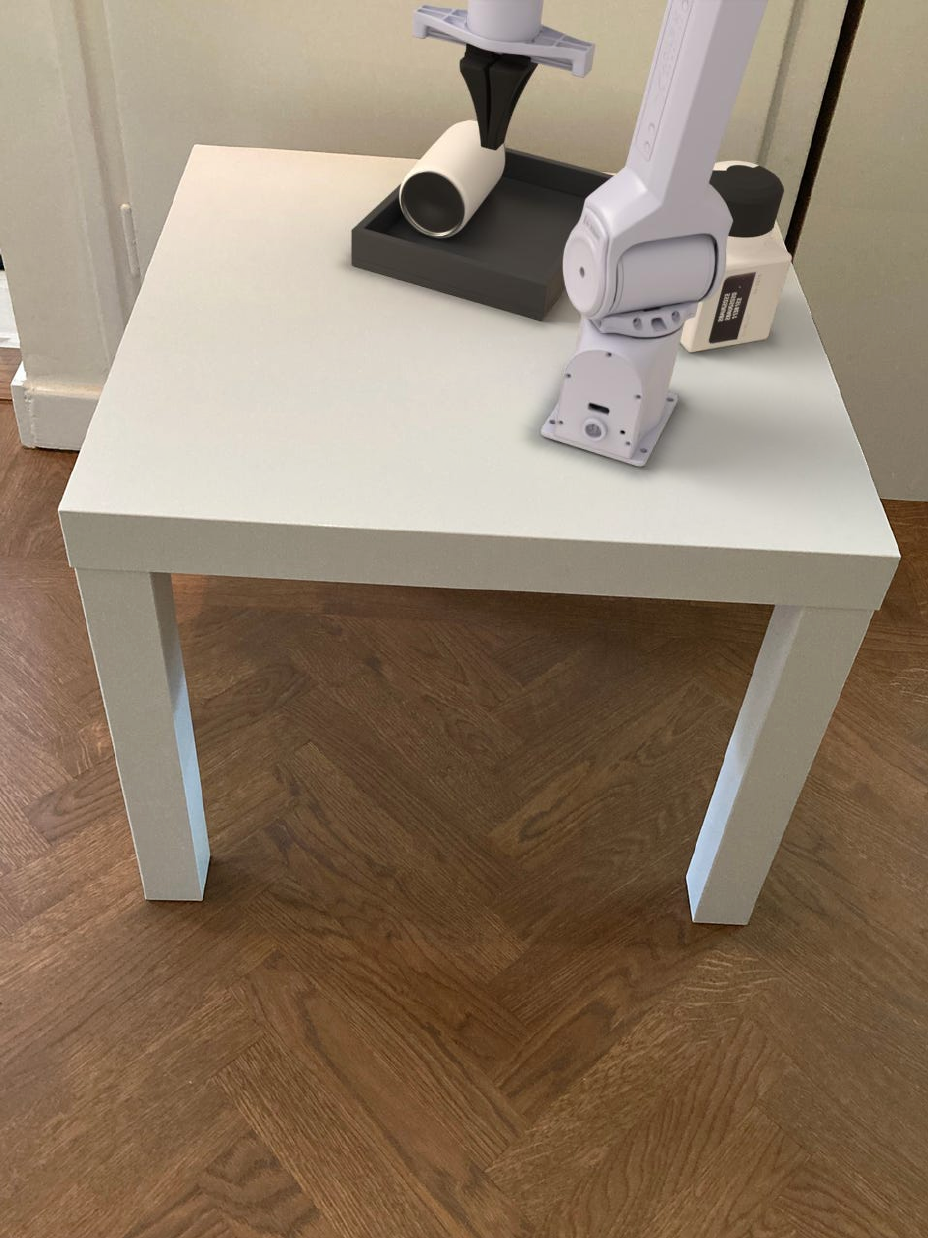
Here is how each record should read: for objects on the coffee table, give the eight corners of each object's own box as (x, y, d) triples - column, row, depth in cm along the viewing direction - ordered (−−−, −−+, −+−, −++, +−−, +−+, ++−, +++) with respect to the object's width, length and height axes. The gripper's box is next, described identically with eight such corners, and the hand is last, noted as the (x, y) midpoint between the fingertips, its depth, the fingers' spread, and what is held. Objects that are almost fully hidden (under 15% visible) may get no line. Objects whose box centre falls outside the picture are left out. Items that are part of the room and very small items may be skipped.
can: (482, 208, 98) (524, 151, 106) (426, 151, 96) (473, 98, 104) (437, 254, 102) (481, 197, 110) (383, 201, 100) (431, 147, 108)
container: (769, 340, 96) (814, 190, 86) (688, 354, 93) (726, 202, 84) (721, 292, 100) (760, 145, 91) (643, 304, 98) (674, 155, 89)
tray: (542, 321, 95) (547, 285, 93) (351, 265, 99) (351, 229, 97) (621, 211, 109) (627, 178, 107) (451, 166, 113) (453, 133, 111)
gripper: (617, -31, 87) (590, 146, 97) (441, -69, 90) (432, 106, 100) (587, -3, 82) (562, 180, 92) (403, -44, 86) (397, 137, 95)
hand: (492, 144), depth 96 cm, fingers closed
